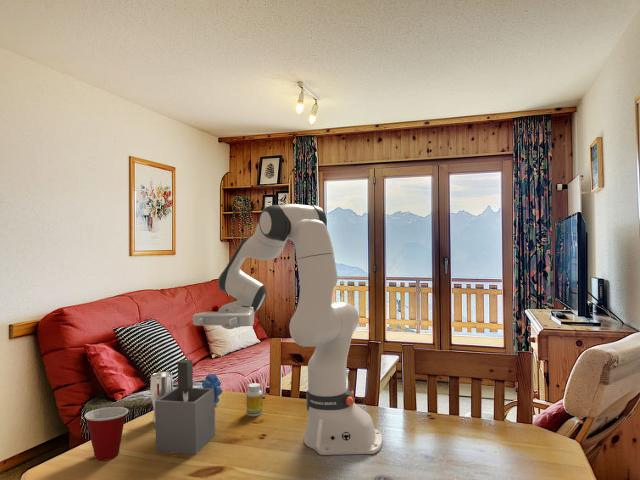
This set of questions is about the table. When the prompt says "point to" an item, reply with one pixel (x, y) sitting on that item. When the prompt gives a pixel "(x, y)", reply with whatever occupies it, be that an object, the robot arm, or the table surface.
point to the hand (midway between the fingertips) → (213, 322)
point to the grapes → (213, 386)
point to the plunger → (185, 377)
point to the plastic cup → (106, 431)
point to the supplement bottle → (254, 400)
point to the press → (184, 421)
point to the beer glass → (160, 386)
